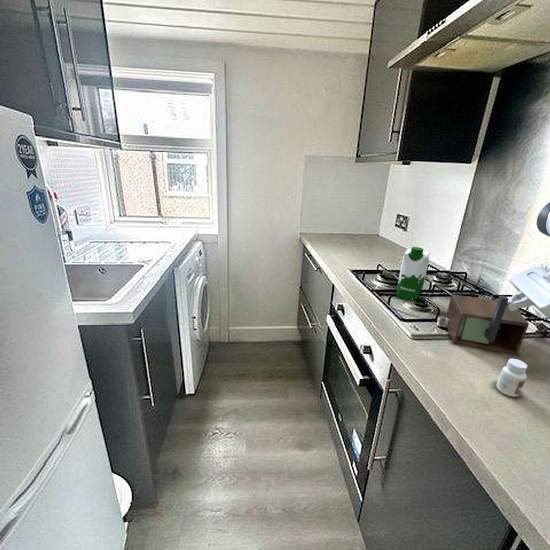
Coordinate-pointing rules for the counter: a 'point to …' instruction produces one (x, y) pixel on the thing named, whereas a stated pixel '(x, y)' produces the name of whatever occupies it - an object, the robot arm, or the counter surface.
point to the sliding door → (485, 325)
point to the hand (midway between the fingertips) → (507, 306)
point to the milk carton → (412, 273)
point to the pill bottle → (512, 377)
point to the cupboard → (478, 308)
